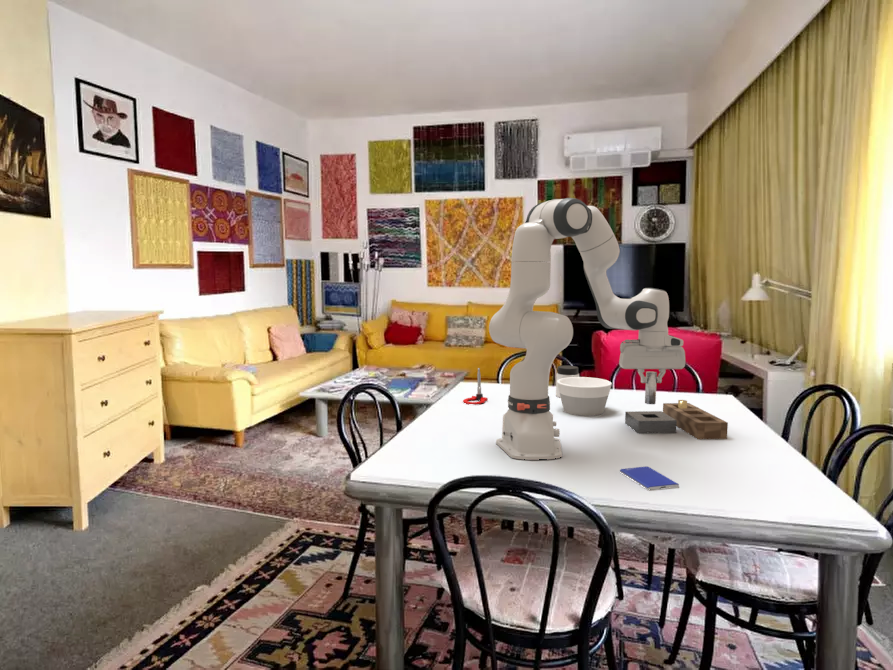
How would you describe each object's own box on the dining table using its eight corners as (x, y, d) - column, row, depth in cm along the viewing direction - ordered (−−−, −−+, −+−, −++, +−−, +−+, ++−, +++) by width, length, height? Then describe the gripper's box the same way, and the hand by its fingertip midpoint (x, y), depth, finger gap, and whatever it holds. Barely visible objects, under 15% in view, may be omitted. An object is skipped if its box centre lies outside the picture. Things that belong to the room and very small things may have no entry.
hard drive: (619, 468, 148) (647, 486, 136) (648, 466, 150) (679, 483, 138) (619, 474, 148) (647, 492, 136) (648, 471, 150) (678, 489, 138)
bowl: (582, 402, 226) (583, 375, 225) (622, 412, 210) (623, 383, 209) (545, 409, 215) (545, 380, 214) (584, 420, 199) (585, 389, 198)
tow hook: (478, 407, 221) (490, 401, 229) (477, 373, 219) (489, 368, 227) (459, 404, 225) (471, 398, 233) (458, 371, 224) (470, 366, 231)
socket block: (676, 433, 184) (676, 420, 183) (638, 433, 183) (638, 420, 183) (660, 423, 195) (661, 411, 195) (625, 423, 195) (625, 411, 195)
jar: (563, 393, 242) (563, 364, 241) (581, 396, 237) (582, 366, 236) (552, 397, 235) (553, 367, 234) (571, 399, 230) (572, 369, 229)
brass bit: (687, 422, 196) (688, 401, 196) (679, 422, 196) (680, 401, 196) (684, 420, 199) (684, 399, 198) (675, 420, 199) (676, 399, 198)
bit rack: (726, 438, 177) (727, 422, 177) (697, 439, 177) (698, 423, 176) (688, 417, 203) (688, 403, 202) (662, 417, 203) (663, 403, 202)
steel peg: (657, 404, 187) (658, 373, 186) (647, 404, 187) (648, 373, 185) (653, 402, 190) (654, 371, 189) (643, 402, 190) (644, 371, 189)
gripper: (623, 340, 183) (622, 384, 184) (688, 340, 183) (686, 384, 185) (617, 338, 189) (615, 380, 190) (679, 338, 190) (677, 380, 191)
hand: (651, 382), depth 187 cm, fingers closed on steel peg, 3 cm apart
